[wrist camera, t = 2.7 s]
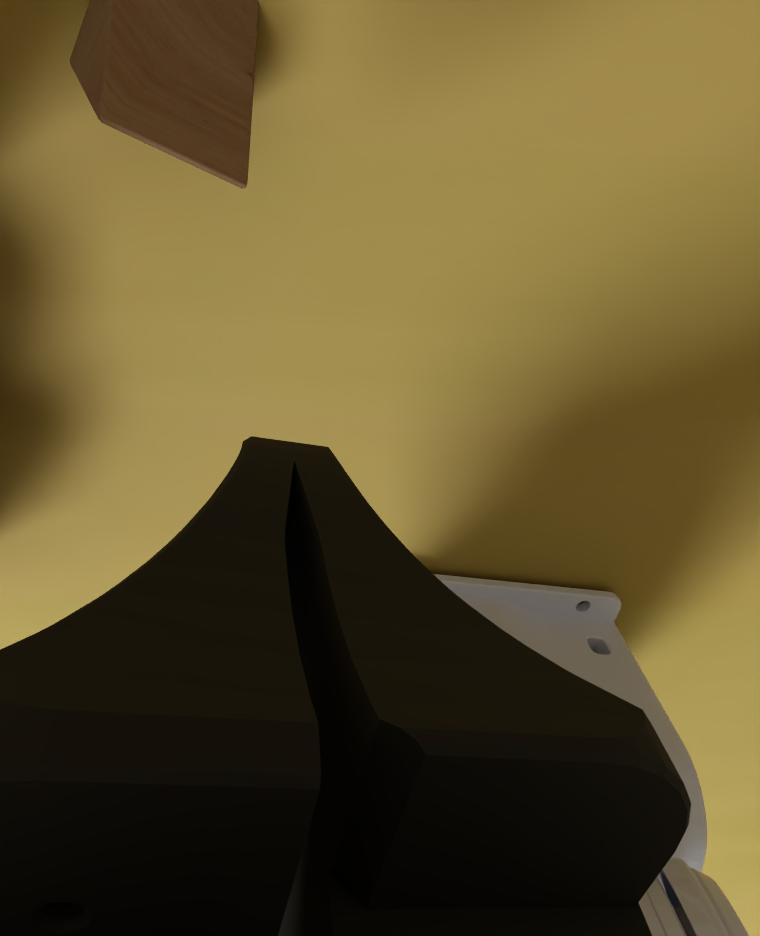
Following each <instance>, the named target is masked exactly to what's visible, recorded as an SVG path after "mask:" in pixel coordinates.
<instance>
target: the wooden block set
mask: <svg viewBox="0 0 760 936" xmlns="http://www.w3.org/2000/svg"><path fill="white" fill-rule="evenodd" d="M258 13H259V4H258V2H257V1H256V0H90V3H89V6H88V9H87V11H86V14H85V17H84V20H83V23H82V26H81V29H80V32H79V35H78V37H77V40H76V43H75V46H74V49H73V52H72V55H71V58H70V64H71V66H72V68H73V70H74V72H75V74H76V76H77V78H78V80H79V82H80V84H81V86H82V88H83V90H84V91H85V93H86V95H87V97H88V99H89V101H90V103H91V105H92V107H93V109H94V111H95V113H96V115H97V117H98V119H99V120H100V121H101V122H102V123H104V124H106V125H108V126H110V127H112V128H114V129H117V130H119V131H121V132H123V133H125V134H127V135H129V136H131V137H134V138H136V139H138V140H140V141H142V142H144V143H146V144H148V145H151V146H153V147H155V148H157V149H159V150H161V151H163V152H165V153H168V154H170V155H172V156H174V157H176V158H178V159H180V160H182V161H185V162H187V163H189V164H191V165H193V166H195V167H197V168H200V169H202V170H204V171H206V172H208V173H210V174H212V175H214V176H217V177H219V178H221V179H223V180H225V181H227V182H229V183H231V184H234V185H236V186H238V187H240V188H246V186H247V180H248V164H249V149H250V134H251V119H252V104H253V89H254V73H255V58H256V43H257V28H258Z"/></svg>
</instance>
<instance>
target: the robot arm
mask: <svg viewBox="0 0 760 936" xmlns="http://www.w3.org/2000/svg"><path fill="white" fill-rule="evenodd" d="M582 601H584V602H583V603H582V604H578V603H580V602H582ZM577 604H578V605H577ZM620 609H621V601H620V600H619V598H618V596H617V595H616V594H615V593H612V592H607V591H597V590H587V589H577V588H567V587H557V586H548V585H538V584H528V583H518V582H508V581H498V580H488V579H479V578H469V577H459V576H449V575H439V574H433V573H431V572H430V571H429V570H428V569H427V568H426V567H425V566H424V565H423V564H422V563H421V562H420V561H419V560H418V559H417V558H416V557H415V556H414V555H413V554H412V553H411V552H410V551H409V550H408V549H407V548H406V547H405V546H404V545H403V544H402V543H401V541H400V540H399V539H398V538H397V537H396V536H395V535H394V534H393V533H392V532H391V530H390V529H389V528H388V527H387V526H386V525H385V523H384V522H383V521H382V520H381V519H380V517H379V516H378V515H377V514H376V513H375V511H374V510H373V509H372V507H371V506H370V505H369V504H368V502H367V501H366V500H365V498H364V497H363V496H362V494H361V493H360V491H359V490H358V489H357V487H356V486H355V484H354V483H353V482H352V480H351V479H350V477H349V476H348V474H347V473H346V472H345V470H344V469H343V467H342V466H341V464H340V463H339V461H338V460H337V458H336V457H335V456H334V454H333V453H332V451H331V450H330V449H329V447H324V446H317V445H310V444H303V443H295V442H288V441H281V440H274V439H266V438H259V437H252V436H251V437H250V438H248V439H246V440H245V441H243V444H242V448H241V451H240V453H239V455H238V457H237V459H236V461H235V463H234V464H233V466H232V468H231V469H230V471H229V473H228V474H227V476H226V477H225V478H224V480H223V481H222V483H221V484H220V485H219V487H218V488H217V489H216V491H215V492H214V494H213V495H212V496H211V498H210V499H209V500H208V501H207V503H206V504H205V505H204V506H203V507H202V508H201V509H200V510H199V512H198V513H197V514H196V515H195V516H194V517H193V518H192V519H191V520H190V522H189V523H188V524H187V525H186V526H185V527H184V528H183V529H182V530H181V531H180V532H179V533H178V534H177V535H176V536H175V537H174V538H173V539H172V540H171V541H170V542H169V543H168V544H167V545H166V546H165V547H163V548H162V549H161V550H160V551H159V552H158V553H157V554H155V555H154V556H153V557H152V558H151V559H150V560H149V561H147V562H146V563H145V564H144V565H142V566H141V567H140V568H138V569H137V570H136V571H134V572H133V573H132V574H131V575H129V576H128V577H127V578H125V579H124V580H123V581H121V582H120V583H119V584H117V585H116V586H115V587H113V588H112V589H110V590H109V591H107V592H106V593H104V594H103V595H101V596H100V597H98V598H97V599H95V600H94V601H92V602H90V603H89V604H87V605H85V606H84V607H82V608H80V609H79V610H77V611H75V612H74V613H72V614H70V615H69V616H67V617H65V618H64V619H62V620H60V621H58V622H57V623H55V624H53V625H51V626H50V627H48V628H46V629H44V630H42V631H40V632H38V633H36V634H34V635H32V636H29V637H27V638H25V639H23V640H21V641H18V642H16V643H14V644H12V645H10V646H7V647H5V648H3V649H1V650H0V936H749V935H748V933H747V931H746V930H745V928H744V926H743V924H742V922H741V921H740V919H739V917H738V916H737V914H736V912H735V910H734V909H733V907H732V906H731V904H730V902H729V901H728V899H727V898H726V896H725V895H724V893H723V892H722V890H721V889H720V887H719V886H718V885H717V883H716V882H715V881H714V880H713V879H712V878H710V877H709V876H707V875H705V874H703V873H701V871H702V867H703V863H704V859H705V853H706V846H707V823H706V813H705V807H704V801H703V796H702V791H701V787H700V783H699V780H698V777H697V773H696V770H695V768H694V765H693V763H692V760H691V757H690V755H689V753H688V751H687V749H686V747H685V745H684V744H683V742H682V740H681V738H680V737H679V735H678V733H677V731H676V730H675V728H674V726H673V724H672V723H671V721H670V719H669V717H668V716H667V714H666V712H665V710H664V709H663V707H662V705H661V703H660V702H659V700H658V698H657V696H656V695H655V693H654V691H653V689H652V688H651V686H650V684H649V682H648V681H647V679H646V677H645V675H644V674H643V672H642V670H641V668H640V667H639V665H638V663H637V661H636V660H635V658H634V656H633V654H632V653H631V651H630V649H629V647H628V646H627V644H626V642H625V640H624V639H623V637H622V635H621V633H620V632H619V630H618V628H617V627H616V625H615V623H614V621H615V619H616V617H617V615H618V613H619V611H620Z"/></svg>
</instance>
